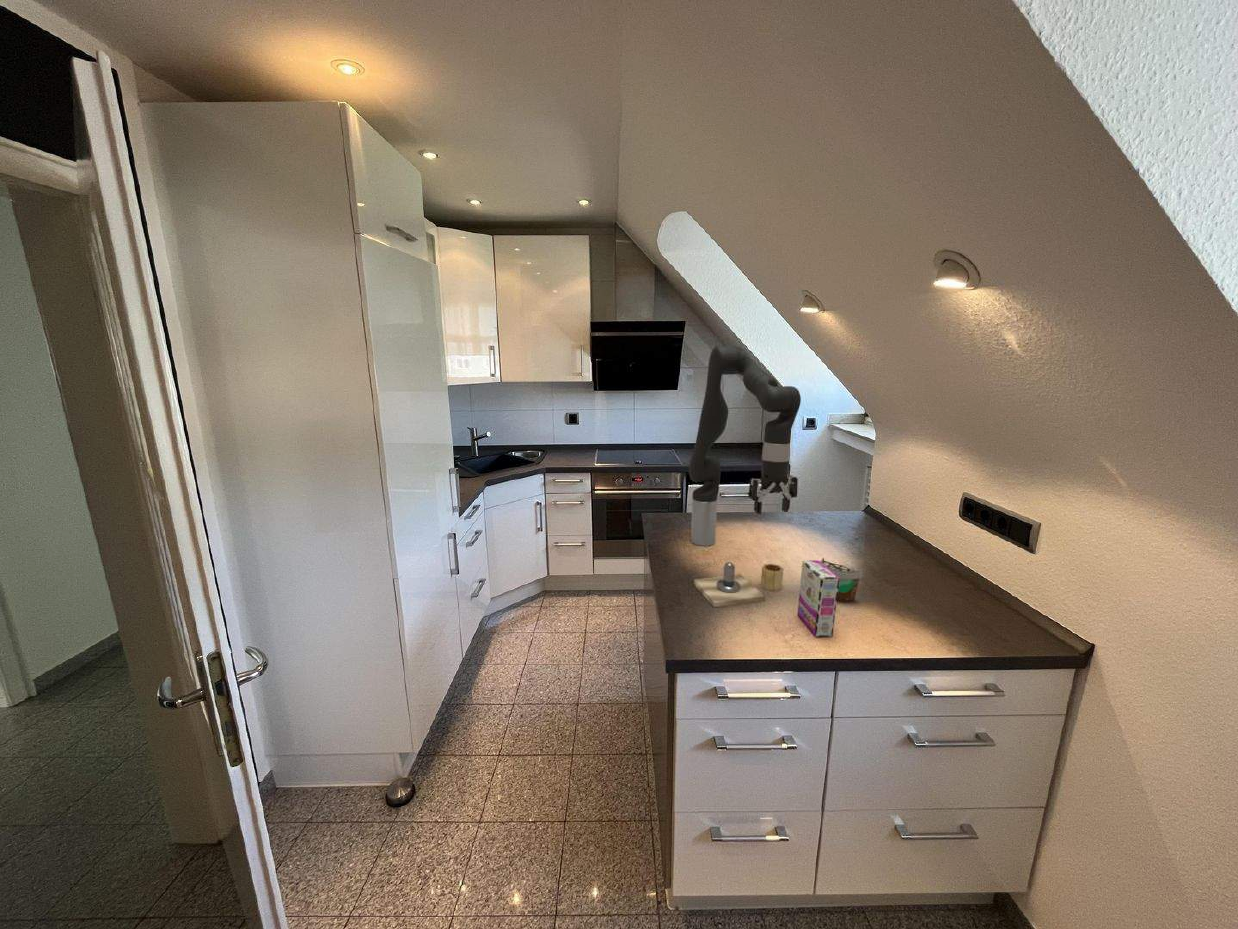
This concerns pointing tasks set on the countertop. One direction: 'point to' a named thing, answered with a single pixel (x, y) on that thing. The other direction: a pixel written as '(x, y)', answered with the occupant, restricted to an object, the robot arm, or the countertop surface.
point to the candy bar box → (818, 598)
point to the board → (726, 599)
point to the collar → (772, 577)
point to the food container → (845, 581)
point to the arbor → (728, 580)
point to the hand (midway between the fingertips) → (771, 512)
